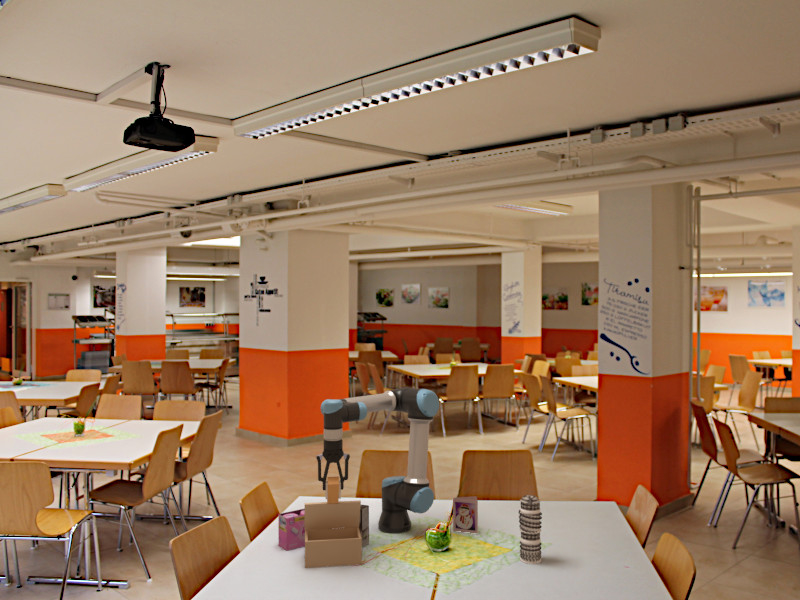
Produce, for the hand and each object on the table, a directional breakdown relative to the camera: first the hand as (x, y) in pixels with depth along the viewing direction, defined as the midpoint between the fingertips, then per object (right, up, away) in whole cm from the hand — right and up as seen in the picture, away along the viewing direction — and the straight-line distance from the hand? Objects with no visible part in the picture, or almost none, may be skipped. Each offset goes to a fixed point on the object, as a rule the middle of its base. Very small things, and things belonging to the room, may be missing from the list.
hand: (333, 497), depth 253 cm
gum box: (-14, -26, +21) cm, 36 cm away
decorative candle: (+79, -25, +1) cm, 83 cm away
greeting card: (+57, -26, +36) cm, 72 cm away
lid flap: (0, -4, +3) cm, 5 cm away
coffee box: (+8, -26, +19) cm, 33 cm away
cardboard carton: (0, -25, +2) cm, 25 cm away
